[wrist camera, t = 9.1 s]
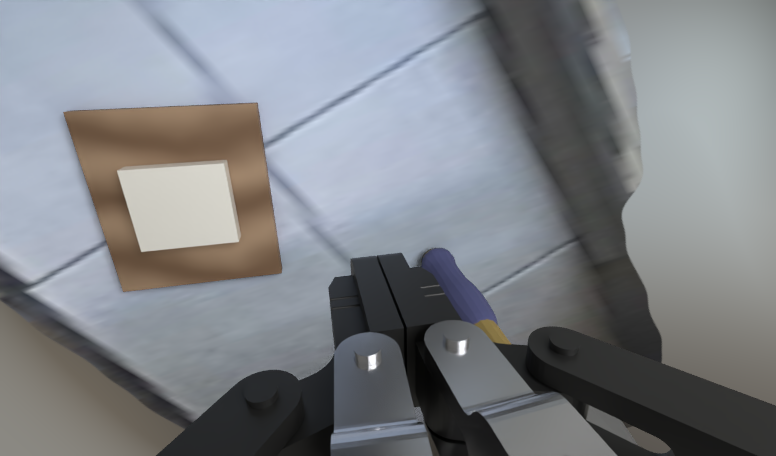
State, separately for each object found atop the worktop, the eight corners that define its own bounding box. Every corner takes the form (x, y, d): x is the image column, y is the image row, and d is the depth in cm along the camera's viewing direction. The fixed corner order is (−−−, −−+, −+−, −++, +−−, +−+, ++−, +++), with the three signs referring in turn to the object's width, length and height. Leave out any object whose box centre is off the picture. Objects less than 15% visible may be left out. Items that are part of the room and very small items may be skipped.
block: (227, 159, 38) (124, 166, 36) (223, 163, 36) (116, 170, 35) (241, 235, 41) (147, 244, 39) (238, 241, 39) (141, 251, 38)
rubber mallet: (378, 245, 46) (490, 504, 19) (426, 202, 45) (617, 409, 18) (439, 306, 51) (597, 580, 24) (484, 269, 50) (700, 508, 23)
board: (70, 110, 35) (63, 112, 34) (257, 102, 38) (256, 103, 36) (128, 285, 42) (123, 291, 41) (282, 268, 44) (281, 273, 43)
